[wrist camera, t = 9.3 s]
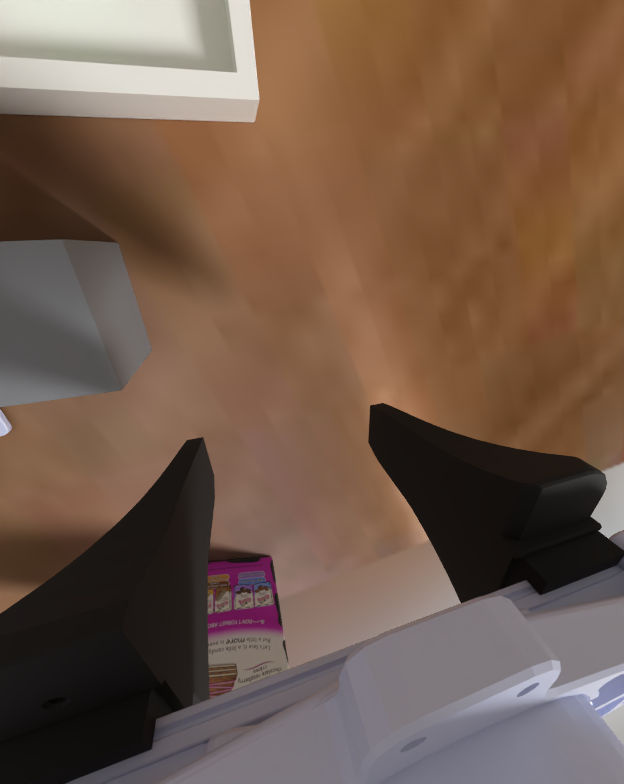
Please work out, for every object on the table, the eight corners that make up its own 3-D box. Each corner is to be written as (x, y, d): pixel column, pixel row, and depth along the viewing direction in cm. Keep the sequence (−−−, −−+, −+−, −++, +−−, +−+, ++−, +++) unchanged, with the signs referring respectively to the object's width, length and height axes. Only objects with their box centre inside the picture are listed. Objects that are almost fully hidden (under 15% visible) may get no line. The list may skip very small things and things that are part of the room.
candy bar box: (152, 597, 28) (76, 958, 14) (154, 564, 26) (68, 942, 12) (265, 584, 32) (296, 856, 17) (274, 554, 30) (317, 831, 16)
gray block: (42, 361, 17) (-42, 412, 11) (-17, 248, 14) (-162, 247, 9) (152, 349, 18) (121, 390, 13) (118, 242, 15) (61, 239, 10)
